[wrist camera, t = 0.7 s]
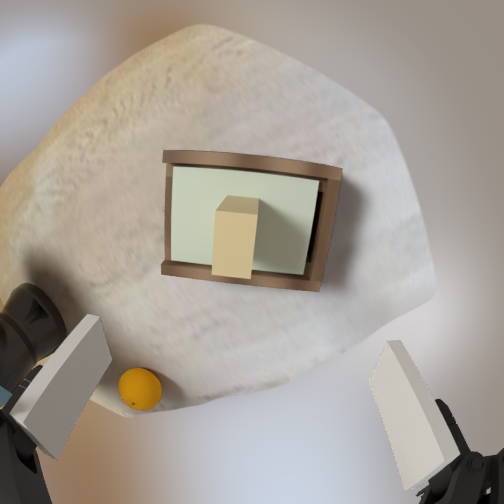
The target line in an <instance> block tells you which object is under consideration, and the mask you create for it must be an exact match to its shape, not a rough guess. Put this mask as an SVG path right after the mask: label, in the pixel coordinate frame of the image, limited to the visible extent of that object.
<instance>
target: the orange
mask: <svg viewBox="0 0 504 504" xmlns="http://www.w3.org/2000/svg"><path fill="white" fill-rule="evenodd" d="M118 388H119V394H120V396H121V398H122V400H123V401H124V402H125V404H127V405H128V406H129V407H131V408H133V409H136V410H148V409H151V408H153V407H155V406H156V405H157V403H158V402H159V401H160V399H161V394H162V387H161V384H160V381H159V380H158V378H157V377H156V376H155V375H154V374H153V373H151V372H150V371H148V370H146V369H143V368H132V369H129V370H127V371H126V372H124V373H123V375H122V376H121V378H120V380H119V384H118Z"/></svg>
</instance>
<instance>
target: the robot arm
mask: <svg viewBox="0 0 504 504" xmlns="http://www.w3.org/2000/svg"><path fill="white" fill-rule="evenodd" d="M52 353H54V354H53V355H52V356H51V357H50V359H49V360H48V361H47V362H46V364H45V365H44V366H42V365H38V366H37V367H35V368H34V369H33V370H32V368H33V367H34V366H35V364H36V363H37V362H38V361H40V360H41V359H43V358H45V357H47V356H49V355H51V354H52ZM111 361H112V357H111V354H110V351H109V347H108V344H107V341H106V337H105V333H104V330H103V326H102V322H101V318H100V317H99V316H95V315H90V314H87V315H86V316H85V317H84V318H83V319H82V321H81V322H80V323H79V324H78V325H77V326H76V327H75V329H74V330H73V331H72V332H71V333H70V334H69V336H68V337H67V338H66V330H65V326H64V323H63V320H62V318H61V316H60V314H59V312H58V311H57V309H56V307H55V306H54V304H53V303H52V302H51V301H50V299H49V298H48V297H47V296H46V295H45V294H44V293H43V292H42V291H41V290H40V289H38V288H37V287H35V286H33V285H31V284H28V283H24V284H21V285H20V286H18V287H17V288H16V289H15V290H14V291H13V292H12V293H11V296H10V297H9V299H8V301H7V302H6V304H5V306H4V308H3V310H2V311H1V313H0V407H2V406H3V405H5V406H4V407H3V409H1V410H0V504H52V502H51V500H50V496H49V493H48V490H47V487H46V484H45V480H44V477H43V473H42V470H41V467H40V462H39V458H38V454H37V452H36V450H35V449H36V447H37V446H38V447H39V448H40V449H41V450H42V451H43V453H45V454H47V455H49V456H51V457H52V458H54V459H56V460H58V458H59V456H60V454H61V452H62V450H63V448H64V446H65V444H66V442H67V439H68V438H69V436H70V434H71V432H72V430H73V428H74V427H75V425H76V422H77V421H78V419H79V417H80V415H81V413H82V412H83V410H84V408H85V406H86V404H87V402H88V401H89V399H90V397H91V395H92V394H93V392H94V390H95V388H96V387H97V385H98V383H99V381H100V380H101V378H102V376H103V375H104V373H105V371H106V370H107V368H108V366H109V365H110V363H111ZM24 379H25V380H24ZM368 382H369V385H370V387H371V390H372V393H373V396H374V398H375V401H376V404H377V407H378V410H379V412H380V415H381V418H382V420H383V423H384V427H385V430H386V433H387V436H388V439H389V442H390V445H391V447H392V451H393V454H394V457H395V460H396V464H397V467H398V471H399V473H400V477H401V481H402V484H403V488H404V491H408V490H411V489H414V488H417V487H419V486H421V485H422V484H424V483H425V482H427V481H429V485H428V486H426V487H425V488H424V489H422V490H421V491H419V492H418V494H417V495H416V496H419V495H421V494H423V493H424V494H423V495H422V496H421V501H420V503H419V504H504V448H503V449H502V450H501V451H500V452H499V453H498V454H497V455H492V456H485V457H483V456H482V454H480V453H478V452H471V451H470V449H469V447H468V446H467V443H466V441H465V439H464V437H463V435H462V433H461V431H460V429H459V427H458V425H457V424H456V421H455V419H454V417H452V413H451V411H450V409H449V407H448V406H447V405H446V404H445V403H444V402H443V401H442V400H441V399H436V400H434V398H433V396H432V395H431V393H430V391H429V389H428V387H427V385H426V383H425V382H424V380H423V378H422V376H421V375H420V373H419V371H418V369H417V367H416V366H415V364H414V362H413V361H412V359H411V357H410V355H409V354H408V352H407V350H406V349H405V347H404V346H403V344H402V342H401V341H400V340H397V341H387V342H386V344H385V347H384V349H383V352H382V354H381V356H380V358H379V360H378V362H377V365H376V367H375V369H374V371H373V373H372V375H371V377H370V379H369V381H368ZM19 385H20V386H19ZM6 402H7V403H6ZM5 403H6V404H5ZM490 487H491V492H490V493H489V494H487V493H486V490H487V489H489V488H490Z"/></svg>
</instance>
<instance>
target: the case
mask: <svg viewBox="0 0 504 504" xmlns="http://www.w3.org/2000/svg"><path fill="white" fill-rule="evenodd" d="M162 163H167V167H166V188H165V260H164V261H163V263H162V264H161V275H169V276H176V277H184V278H192V279H200V280H208V281H216V282H225V283H234V284H243V285H252V286H261V287H271V288H281V289H292V290H303V291H315V292H319V290H320V286H321V282H322V277H323V273H324V268H325V264H326V259H327V255H328V250H329V245H330V240H331V235H332V230H333V224H334V219H335V213H336V208H337V202H338V196H339V190H340V183H341V177H342V170H343V168H338V167H334V166H330V165H325V164H319V163H313V162H306V161H300V160H293V159H285V158H277V157H269V156H260V155H251V154H240V153H228V152H214V151H195V150H163V161H162ZM174 166H184V167H202V168H217V169H229V170H240V171H251V172H260V173H269V174H277V175H285V176H293V177H300V178H307V179H313V180H318V181H319V185H318V192H317V199H316V205H315V211H314V217H313V223H312V229H311V235H310V241H309V246H308V252H307V257H306V262H305V268H304V273H303V275H301V274H291V273H281V272H271V271H262V270H253V269H252V271H251V279H245V278H236V277H227V276H219V275H212V265H208V264H199V263H191V262H182V261H174V260H171V210H172V183H173V167H174Z"/></svg>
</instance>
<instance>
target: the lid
mask: <svg viewBox="0 0 504 504" xmlns="http://www.w3.org/2000/svg"><path fill="white" fill-rule="evenodd" d="M318 185H319V181H318V180H313V179H307V178H300V177H293V176H285V175H277V174H269V173H260V172H251V171H240V170H229V169H217V168H202V167H184V166H174V167H173V183H172V210H171V260H174V261H182V262H191V263H199V264H208V265H212V275H219V276H227V277H236V278H245V279H251V271H252V269H253V270H262V271H271V272H281V273H291V274H301V275H303V273H304V268H305V262H306V257H307V252H308V246H309V241H310V235H311V229H312V223H313V217H314V211H315V205H316V199H317V192H318Z"/></svg>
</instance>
